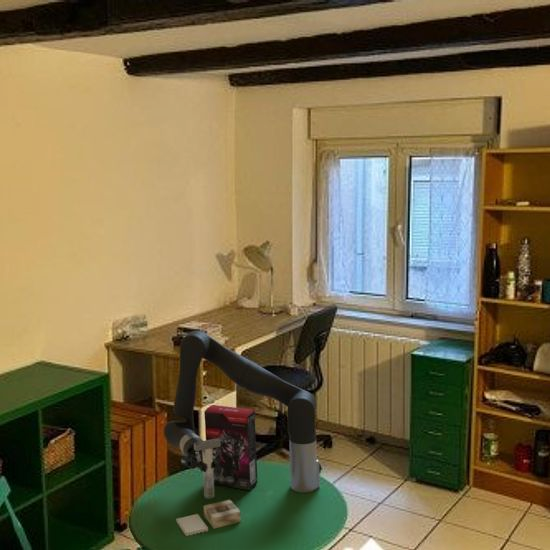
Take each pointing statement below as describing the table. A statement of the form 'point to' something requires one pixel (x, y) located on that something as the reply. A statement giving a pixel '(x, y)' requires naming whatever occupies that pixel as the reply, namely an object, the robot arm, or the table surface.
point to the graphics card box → (233, 445)
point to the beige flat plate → (192, 524)
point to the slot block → (222, 513)
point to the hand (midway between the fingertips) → (211, 467)
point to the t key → (208, 464)
